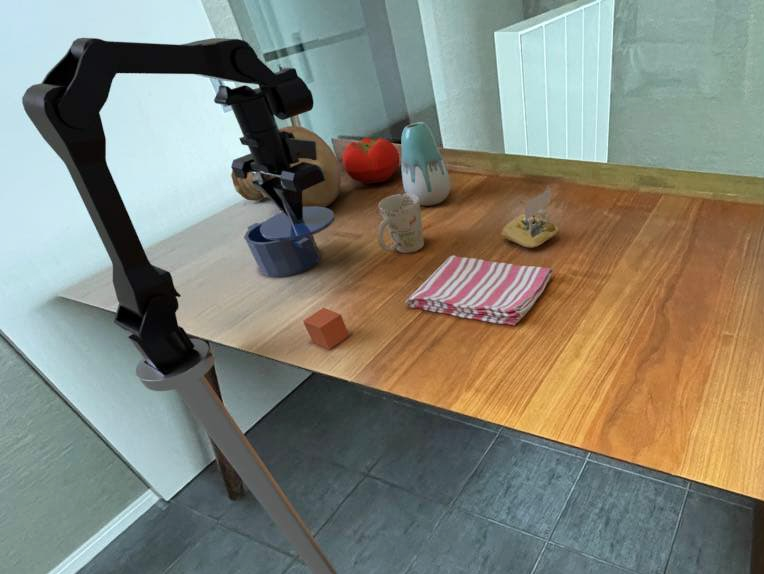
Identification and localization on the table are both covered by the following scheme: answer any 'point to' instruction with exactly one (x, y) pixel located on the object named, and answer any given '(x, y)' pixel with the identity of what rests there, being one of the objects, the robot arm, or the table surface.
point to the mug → (401, 223)
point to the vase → (423, 166)
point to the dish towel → (481, 290)
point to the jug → (326, 160)
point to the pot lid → (297, 224)
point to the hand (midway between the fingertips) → (295, 217)
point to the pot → (281, 253)
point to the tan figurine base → (531, 224)
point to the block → (326, 328)
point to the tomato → (371, 160)
